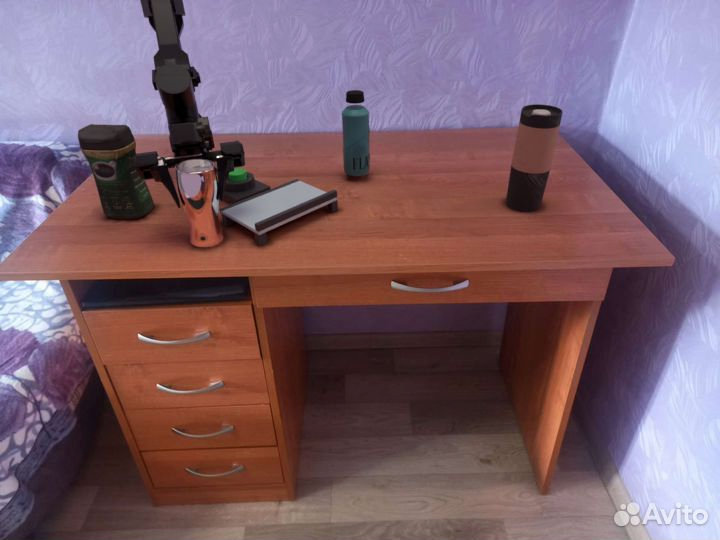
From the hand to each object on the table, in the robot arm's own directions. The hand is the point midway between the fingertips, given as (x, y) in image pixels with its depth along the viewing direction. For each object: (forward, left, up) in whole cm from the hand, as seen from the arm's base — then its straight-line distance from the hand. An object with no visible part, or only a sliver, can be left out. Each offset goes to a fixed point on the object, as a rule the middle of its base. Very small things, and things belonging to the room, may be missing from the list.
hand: (200, 204), depth 85 cm
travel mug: (+55, +35, -9) cm, 66 cm away
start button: (-6, +21, -5) cm, 22 cm away
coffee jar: (-24, +6, -9) cm, 26 cm away
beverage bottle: (+16, +38, -9) cm, 42 cm away
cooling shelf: (+8, +14, -8) cm, 18 cm away
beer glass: (-1, +1, -8) cm, 9 cm away
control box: (-6, +21, -8) cm, 24 cm away
